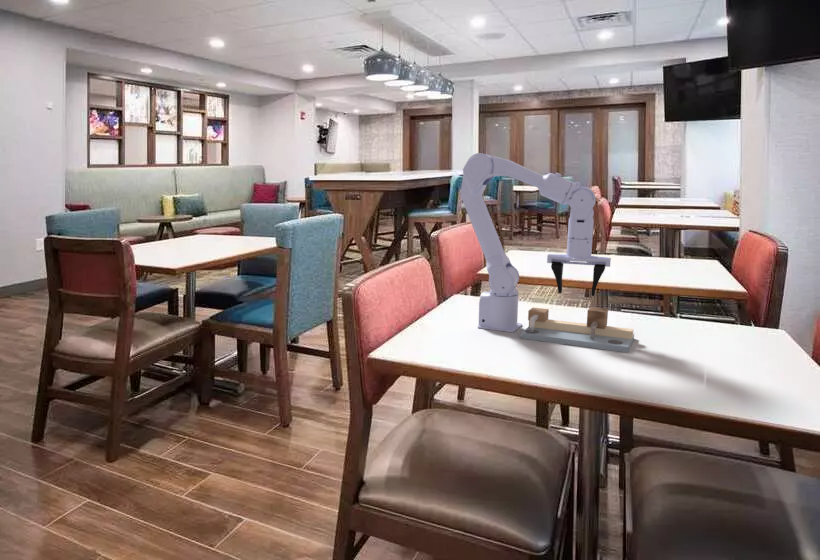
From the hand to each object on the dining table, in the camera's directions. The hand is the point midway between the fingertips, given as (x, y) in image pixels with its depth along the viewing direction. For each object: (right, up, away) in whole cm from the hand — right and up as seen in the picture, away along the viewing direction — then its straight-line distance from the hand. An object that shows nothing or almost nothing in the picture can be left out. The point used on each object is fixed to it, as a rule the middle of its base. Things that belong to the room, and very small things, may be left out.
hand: (576, 293), depth 139 cm
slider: (+3, -9, -5) cm, 11 cm away
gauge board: (-1, -10, -3) cm, 11 cm away
